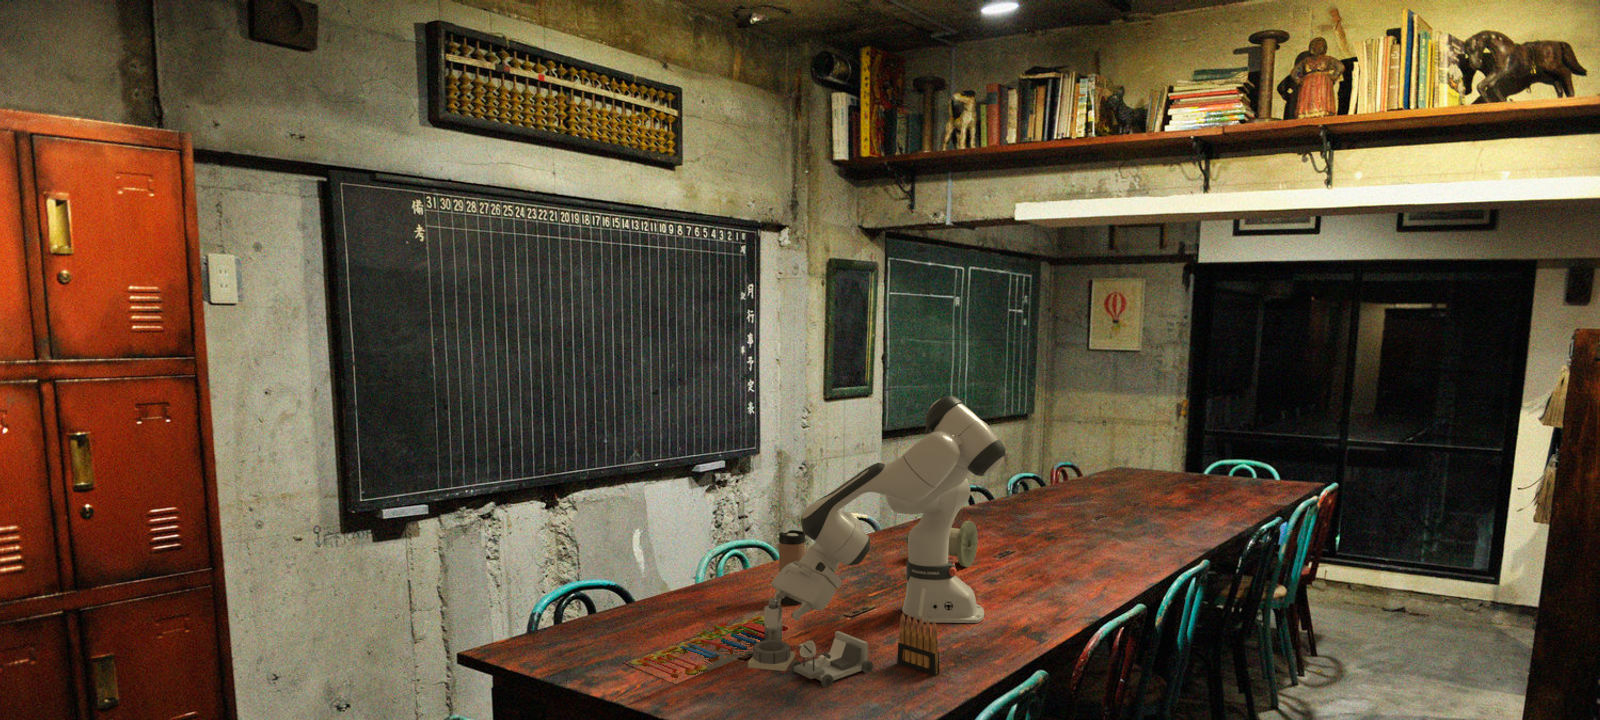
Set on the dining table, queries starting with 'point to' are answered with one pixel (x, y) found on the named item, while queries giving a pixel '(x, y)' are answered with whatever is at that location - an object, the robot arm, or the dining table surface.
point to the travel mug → (790, 554)
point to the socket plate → (771, 655)
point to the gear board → (713, 657)
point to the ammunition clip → (918, 646)
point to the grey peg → (773, 620)
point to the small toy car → (834, 659)
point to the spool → (964, 543)
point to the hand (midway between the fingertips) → (783, 613)
